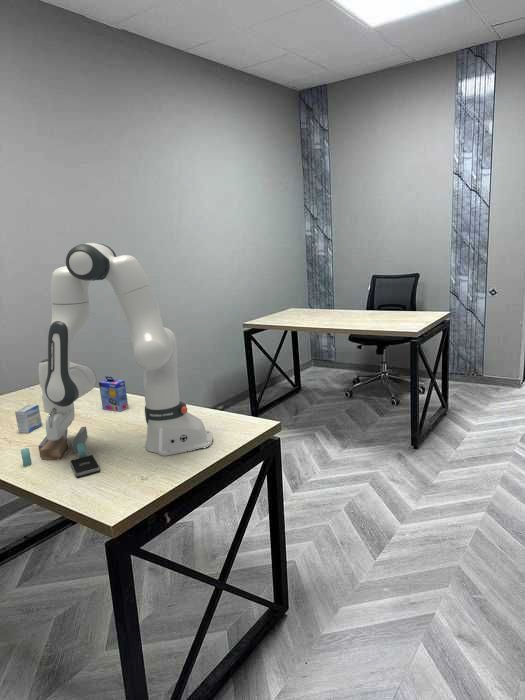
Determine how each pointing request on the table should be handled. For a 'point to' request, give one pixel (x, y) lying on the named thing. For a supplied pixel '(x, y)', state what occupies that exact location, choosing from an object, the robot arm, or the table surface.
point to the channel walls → (79, 438)
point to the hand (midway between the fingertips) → (64, 442)
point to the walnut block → (54, 449)
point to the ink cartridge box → (113, 394)
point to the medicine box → (28, 418)
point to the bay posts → (27, 458)
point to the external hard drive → (85, 466)
